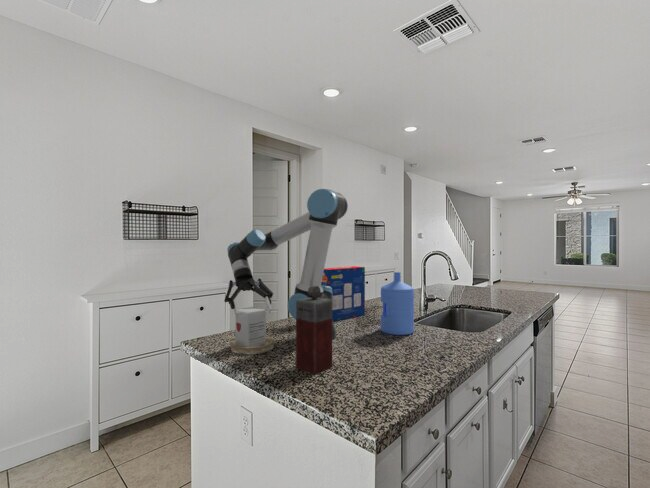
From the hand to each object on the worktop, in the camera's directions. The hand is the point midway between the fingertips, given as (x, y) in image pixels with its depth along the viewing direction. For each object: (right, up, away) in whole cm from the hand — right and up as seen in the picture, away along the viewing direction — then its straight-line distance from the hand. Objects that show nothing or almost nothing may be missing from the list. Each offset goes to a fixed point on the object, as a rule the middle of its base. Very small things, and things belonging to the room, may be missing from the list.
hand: (254, 313), depth 139 cm
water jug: (+63, -14, +27) cm, 70 cm away
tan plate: (-1, -14, +2) cm, 15 cm away
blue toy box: (+38, -14, +56) cm, 69 cm away
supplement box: (-2, -14, +2) cm, 14 cm away
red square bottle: (+24, -15, -19) cm, 34 cm away
